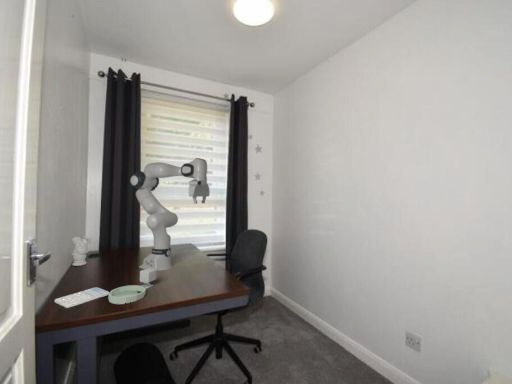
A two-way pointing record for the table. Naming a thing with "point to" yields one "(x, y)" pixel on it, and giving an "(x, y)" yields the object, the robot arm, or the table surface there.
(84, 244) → the cherub figurine
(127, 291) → the faceted green bowl
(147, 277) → the security camera
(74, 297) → the calculator
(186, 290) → the table surface
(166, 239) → the robot arm
